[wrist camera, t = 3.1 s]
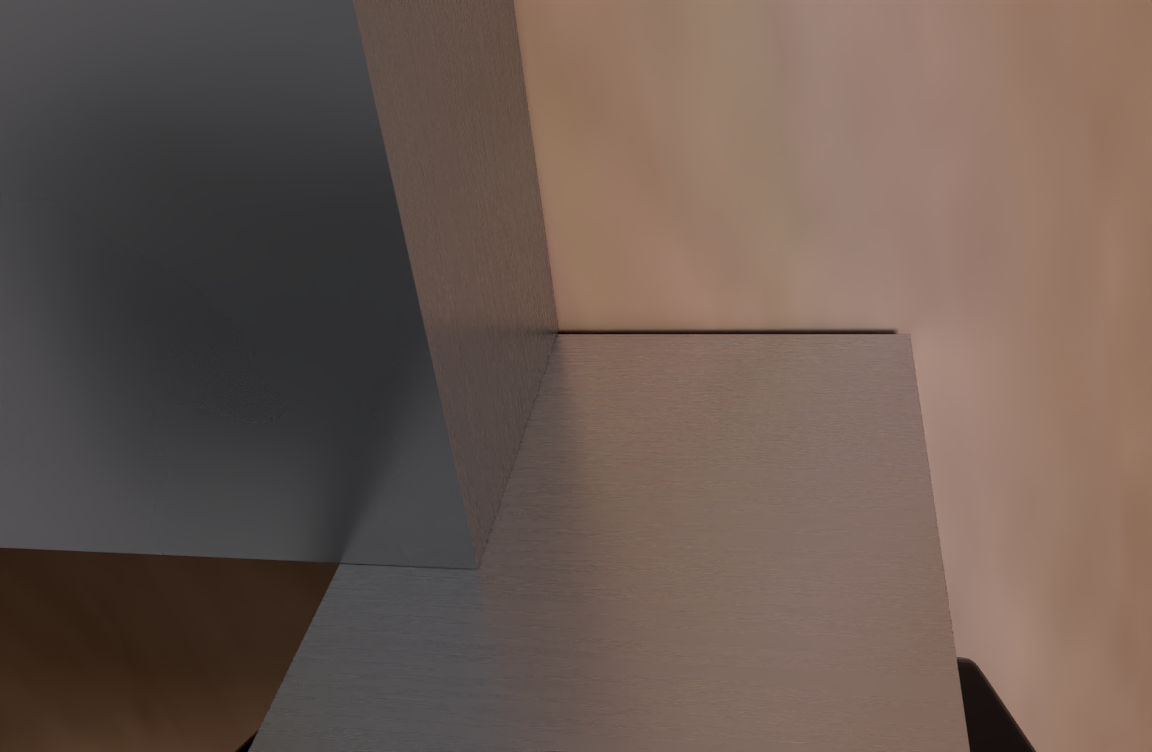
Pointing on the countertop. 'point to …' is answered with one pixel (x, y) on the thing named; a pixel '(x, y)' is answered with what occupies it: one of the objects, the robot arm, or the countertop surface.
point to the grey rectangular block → (666, 572)
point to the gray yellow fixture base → (266, 277)
